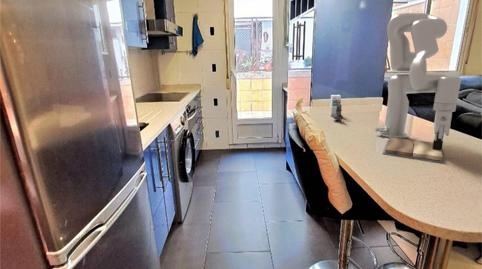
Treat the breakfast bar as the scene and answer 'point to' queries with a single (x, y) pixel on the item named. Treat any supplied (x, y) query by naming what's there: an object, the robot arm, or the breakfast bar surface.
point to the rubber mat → (414, 157)
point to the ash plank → (426, 150)
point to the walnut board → (400, 147)
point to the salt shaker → (338, 114)
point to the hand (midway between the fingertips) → (436, 149)
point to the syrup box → (334, 104)
